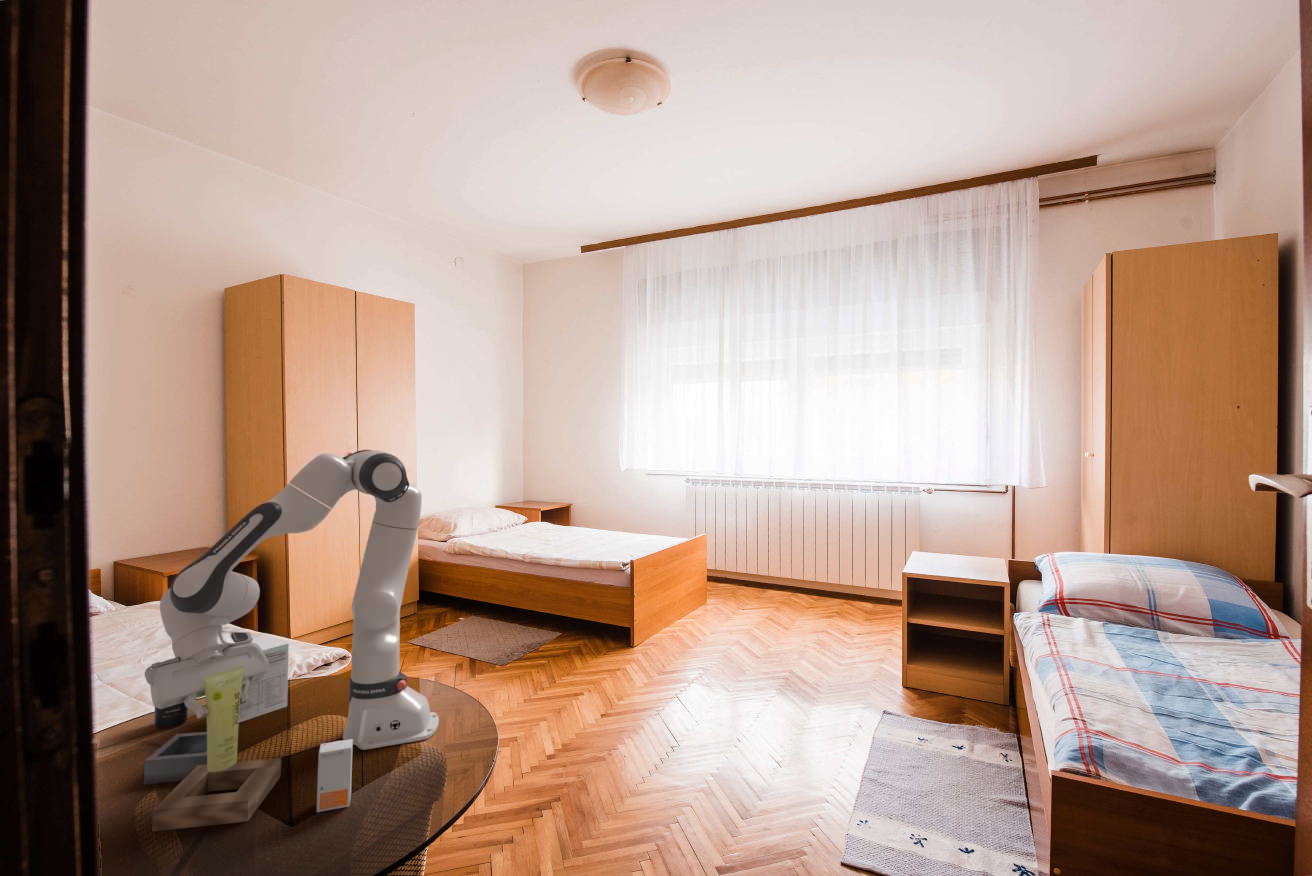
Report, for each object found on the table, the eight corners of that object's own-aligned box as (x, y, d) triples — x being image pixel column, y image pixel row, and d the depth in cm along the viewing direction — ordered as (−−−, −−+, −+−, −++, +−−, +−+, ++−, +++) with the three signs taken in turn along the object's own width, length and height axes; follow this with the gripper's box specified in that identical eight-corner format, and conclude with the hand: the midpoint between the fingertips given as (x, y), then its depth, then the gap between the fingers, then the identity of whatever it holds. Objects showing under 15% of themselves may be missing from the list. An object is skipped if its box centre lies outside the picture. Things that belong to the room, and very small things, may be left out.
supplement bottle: (168, 731, 151) (170, 683, 151) (147, 728, 152) (148, 681, 152) (194, 719, 158) (196, 673, 158) (173, 716, 159) (174, 671, 159)
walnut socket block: (280, 776, 132) (281, 758, 132) (247, 821, 116) (248, 800, 116) (197, 784, 128) (198, 765, 128) (152, 831, 113) (152, 809, 113)
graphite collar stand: (234, 750, 142) (234, 729, 142) (207, 778, 130) (208, 755, 130) (176, 755, 139) (176, 734, 140) (143, 784, 128) (144, 760, 128)
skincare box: (316, 814, 119) (317, 753, 119) (318, 802, 122) (319, 743, 123) (350, 807, 121) (351, 747, 121) (351, 795, 125) (353, 737, 125)
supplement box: (288, 706, 166) (290, 643, 166) (235, 724, 155) (236, 657, 155) (265, 695, 173) (266, 634, 174) (212, 711, 162) (213, 647, 162)
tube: (229, 772, 120) (233, 674, 120) (200, 775, 119) (203, 676, 119) (241, 757, 125) (244, 664, 126) (212, 760, 124) (216, 666, 124)
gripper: (147, 657, 117) (168, 720, 112) (259, 630, 135) (282, 683, 130) (136, 675, 119) (157, 737, 114) (248, 646, 137) (270, 699, 132)
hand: (224, 708), depth 122 cm, fingers closed on tube, 6 cm apart
